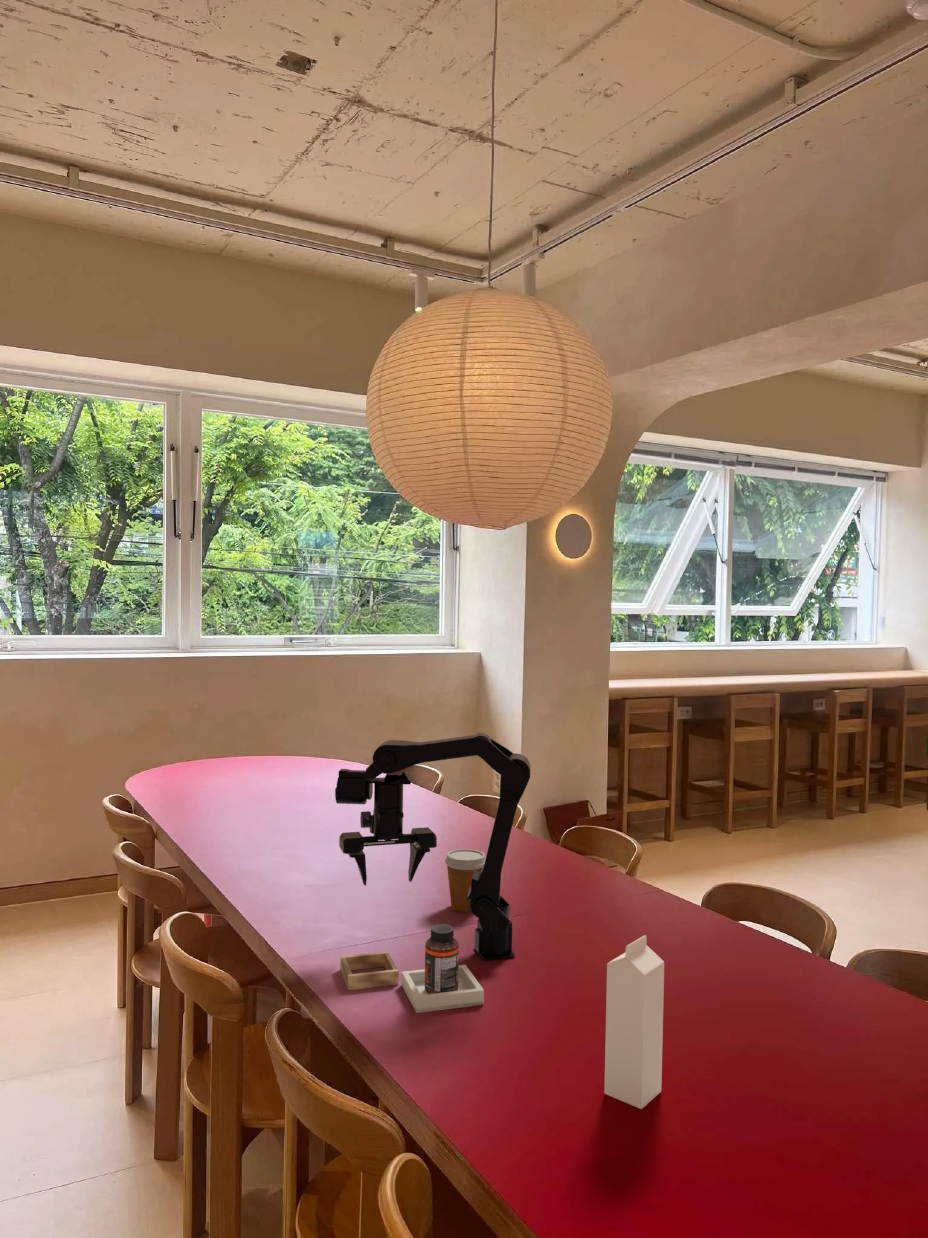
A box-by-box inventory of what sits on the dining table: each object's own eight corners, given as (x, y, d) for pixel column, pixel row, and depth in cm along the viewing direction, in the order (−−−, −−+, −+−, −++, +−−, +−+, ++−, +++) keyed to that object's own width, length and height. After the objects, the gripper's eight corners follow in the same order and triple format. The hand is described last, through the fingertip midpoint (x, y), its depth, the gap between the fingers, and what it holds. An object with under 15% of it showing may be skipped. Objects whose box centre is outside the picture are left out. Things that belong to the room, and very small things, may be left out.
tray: (465, 978, 164) (465, 964, 164) (483, 1004, 154) (484, 990, 154) (401, 985, 161) (401, 971, 161) (416, 1013, 150) (416, 998, 150)
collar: (387, 964, 170) (388, 951, 170) (398, 984, 161) (398, 971, 161) (340, 969, 167) (340, 956, 167) (348, 990, 158) (348, 976, 158)
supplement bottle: (421, 985, 159) (422, 923, 159) (453, 982, 161) (454, 920, 161) (428, 1000, 154) (429, 935, 153) (461, 997, 155) (462, 932, 155)
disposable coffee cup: (482, 916, 196) (483, 862, 195) (440, 912, 198) (440, 859, 197) (489, 902, 205) (490, 850, 205) (449, 898, 207) (450, 847, 207)
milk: (661, 1092, 128) (666, 940, 127) (641, 1110, 123) (646, 952, 122) (624, 1077, 131) (628, 929, 131) (602, 1094, 127) (607, 940, 126)
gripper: (423, 794, 187) (422, 867, 188) (335, 798, 182) (334, 874, 182) (438, 806, 177) (436, 884, 177) (344, 811, 171) (343, 892, 172)
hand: (387, 883), depth 177 cm, fingers open, 9 cm apart
